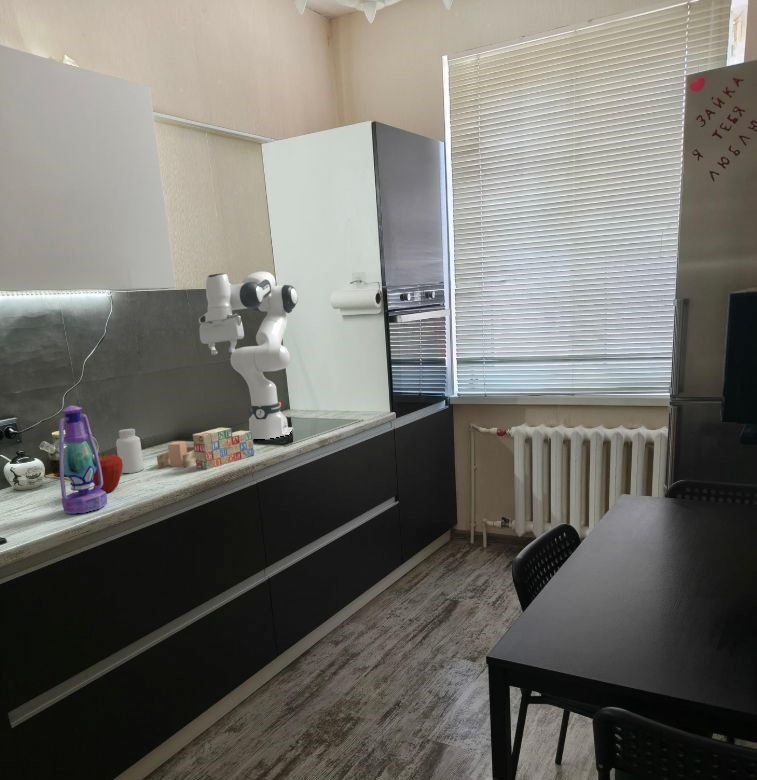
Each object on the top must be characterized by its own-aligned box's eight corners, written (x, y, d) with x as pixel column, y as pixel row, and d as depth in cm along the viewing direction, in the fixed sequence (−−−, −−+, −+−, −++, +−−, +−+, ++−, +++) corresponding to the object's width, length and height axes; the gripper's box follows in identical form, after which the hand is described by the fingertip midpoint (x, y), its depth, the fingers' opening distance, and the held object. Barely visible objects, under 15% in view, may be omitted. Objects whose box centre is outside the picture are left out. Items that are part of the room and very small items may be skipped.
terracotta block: (177, 463, 224) (174, 441, 223) (188, 462, 223) (185, 441, 222) (170, 466, 220) (168, 444, 218) (182, 465, 219) (179, 444, 218)
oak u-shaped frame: (178, 458, 231) (176, 447, 231) (205, 457, 229) (203, 446, 228) (158, 468, 217) (156, 456, 217) (186, 467, 215) (185, 455, 215)
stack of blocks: (243, 454, 231) (240, 422, 229) (254, 455, 227) (251, 423, 225) (196, 468, 214) (192, 434, 212) (207, 470, 210) (203, 435, 208)
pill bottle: (138, 467, 222) (133, 426, 220) (147, 470, 216) (142, 428, 214) (116, 472, 216) (110, 430, 214) (125, 475, 211) (119, 433, 209)
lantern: (80, 518, 166) (65, 409, 162) (51, 515, 170) (35, 409, 167) (119, 502, 178) (105, 401, 174) (90, 500, 182) (76, 401, 179)
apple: (99, 487, 197) (94, 450, 196) (131, 485, 197) (127, 448, 195) (81, 497, 186) (76, 459, 185) (116, 495, 186) (110, 456, 184)
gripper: (246, 313, 224) (249, 351, 224) (208, 320, 235) (211, 356, 235) (233, 312, 219) (236, 350, 219) (195, 319, 230) (198, 356, 230)
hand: (223, 353), depth 227 cm, fingers open, 8 cm apart
